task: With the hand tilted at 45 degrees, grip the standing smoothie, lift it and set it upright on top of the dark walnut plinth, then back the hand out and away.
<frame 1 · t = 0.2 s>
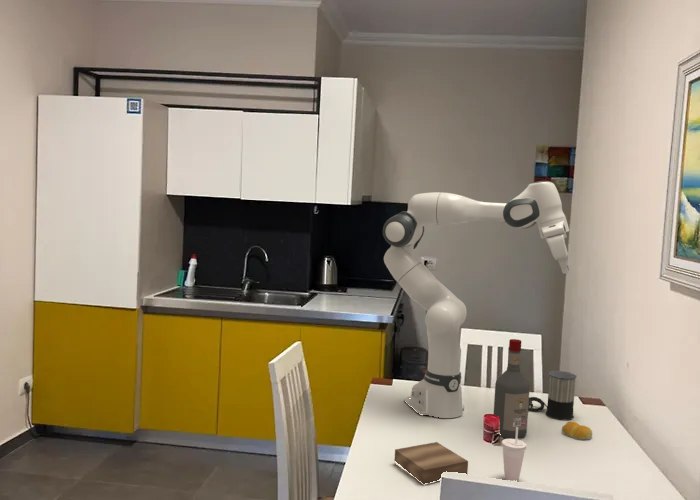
hand: (566, 272, 196), 52 cm above the table, tool tilted 20°, fingers open, 8 cm apart
bread roll: (576, 436, 199), on the table
smoothie: (511, 479, 165), on the table
plinth: (430, 469, 168), on the table
milk frother: (548, 413, 219), on the table
liquor: (509, 434, 197), on the table
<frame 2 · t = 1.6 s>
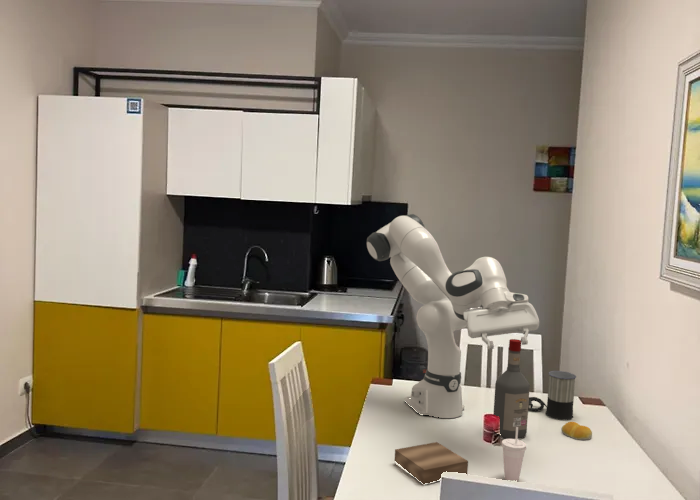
hand: (508, 345, 175), 33 cm above the table, tool tilted 45°, fingers open, 8 cm apart
nothing on the table moved.
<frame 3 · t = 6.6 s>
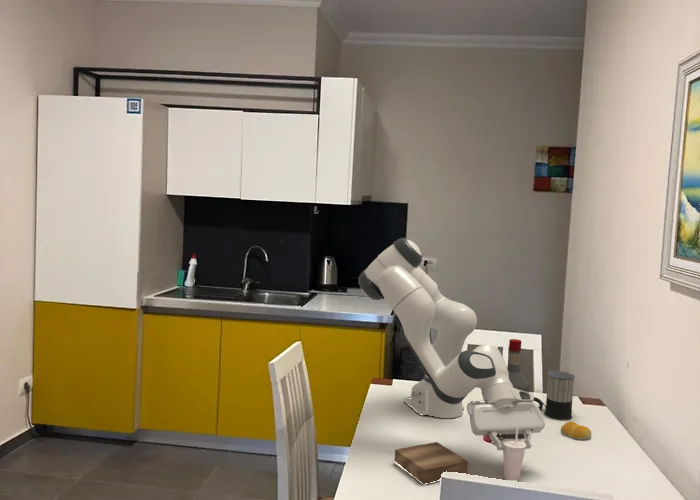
hand: (514, 448, 163), 8 cm above the table, tool tilted 45°, fingers closed on smoothie, 6 cm apart
smoothie: (511, 479, 165), on the table, touching gripper
everything else where it was.
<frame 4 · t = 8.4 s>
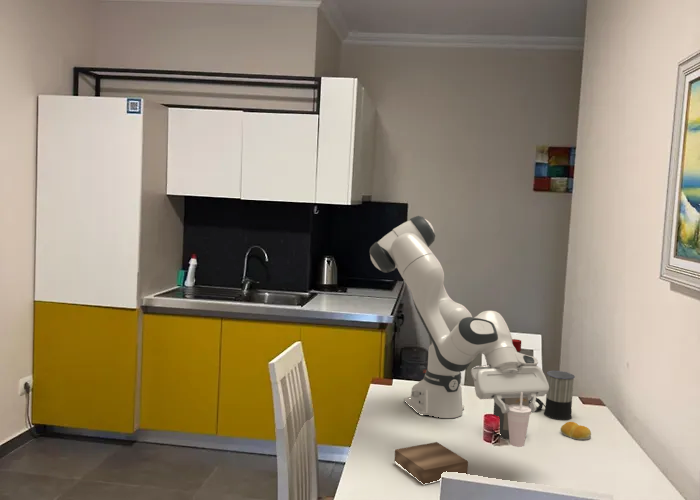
hand: (519, 411, 163), 18 cm above the table, tool tilted 45°, fingers closed on smoothie, 6 cm apart
smoothie: (516, 444, 164), point 9 cm above the table, touching gripper
everything else where it was.
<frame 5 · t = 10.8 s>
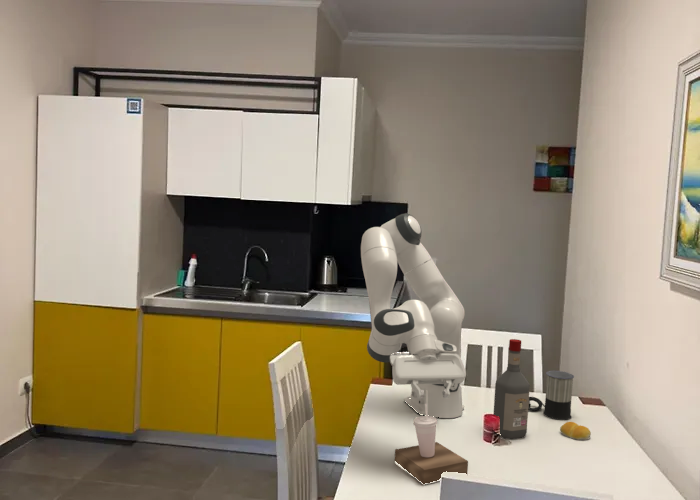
hand: (434, 397, 166), 20 cm above the table, tool tilted 45°, fingers open, 6 cm apart
smoothie: (427, 455, 168), point 4 cm above the table, touching plinth
everything else where it was.
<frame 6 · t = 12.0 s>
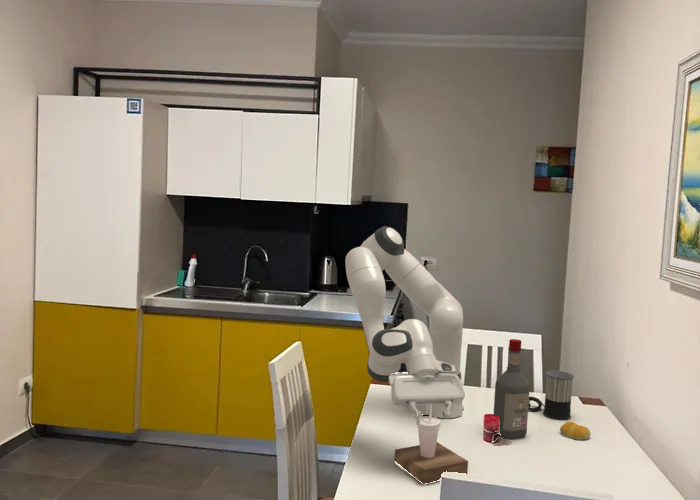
hand: (433, 417, 166), 15 cm above the table, tool tilted 45°, fingers open, 6 cm apart
smoothie: (427, 455, 168), point 4 cm above the table, touching gripper, plinth
everything else where it was.
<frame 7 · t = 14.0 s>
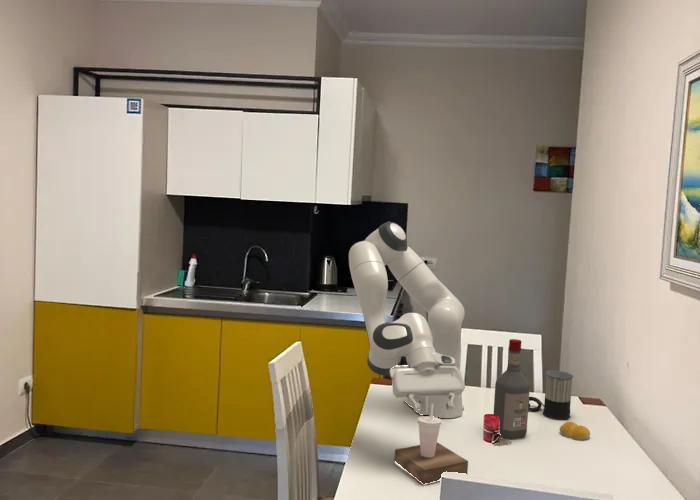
hand: (434, 409, 168), 16 cm above the table, tool tilted 45°, fingers open, 8 cm apart
smoothie: (427, 455, 168), point 4 cm above the table, touching plinth
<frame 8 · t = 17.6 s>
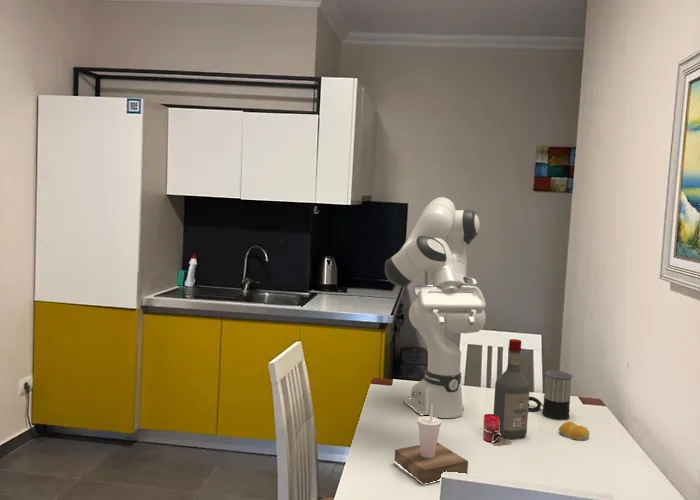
hand: (456, 324, 179), 37 cm above the table, tool tilted 45°, fingers open, 8 cm apart
at the end: smoothie inside the target area on the plinth (0.9 cm from its centre), point 3.8 cm above the plinth's base; smoothie tilted 1°; the gripper is holding nothing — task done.
